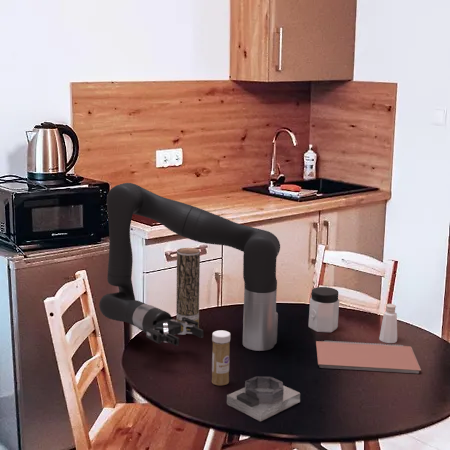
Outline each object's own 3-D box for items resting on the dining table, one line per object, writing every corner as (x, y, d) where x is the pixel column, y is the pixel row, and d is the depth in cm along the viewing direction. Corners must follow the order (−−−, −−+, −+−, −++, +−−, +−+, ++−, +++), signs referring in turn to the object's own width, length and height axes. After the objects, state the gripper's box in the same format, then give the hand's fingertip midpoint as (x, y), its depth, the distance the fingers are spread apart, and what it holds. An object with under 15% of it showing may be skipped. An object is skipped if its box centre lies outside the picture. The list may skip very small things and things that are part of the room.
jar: (303, 324, 220) (305, 288, 217) (325, 320, 224) (327, 285, 221) (320, 334, 212) (322, 297, 209) (342, 330, 216) (344, 293, 213)
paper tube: (200, 326, 216) (201, 248, 211) (197, 335, 210) (198, 254, 204) (178, 325, 217) (178, 247, 211) (174, 333, 210) (175, 253, 205)
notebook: (410, 350, 203) (410, 344, 203) (420, 376, 187) (421, 369, 187) (315, 345, 206) (315, 338, 205) (317, 370, 189) (318, 363, 189)
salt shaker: (399, 343, 207) (402, 308, 204) (380, 343, 207) (383, 307, 204) (395, 336, 212) (398, 302, 210) (377, 336, 212) (380, 301, 210)
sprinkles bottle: (223, 387, 177) (224, 337, 173) (208, 383, 179) (208, 334, 176) (232, 381, 180) (233, 331, 177) (217, 376, 183) (218, 328, 179)
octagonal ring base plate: (266, 386, 178) (266, 369, 177) (299, 402, 170) (300, 383, 169) (226, 404, 168) (227, 385, 167) (260, 421, 161) (261, 402, 159)
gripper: (131, 313, 191) (170, 331, 180) (172, 302, 201) (210, 318, 189) (131, 339, 193) (169, 358, 181) (171, 327, 202) (209, 344, 191)
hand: (190, 338), depth 185 cm, fingers open, 8 cm apart
